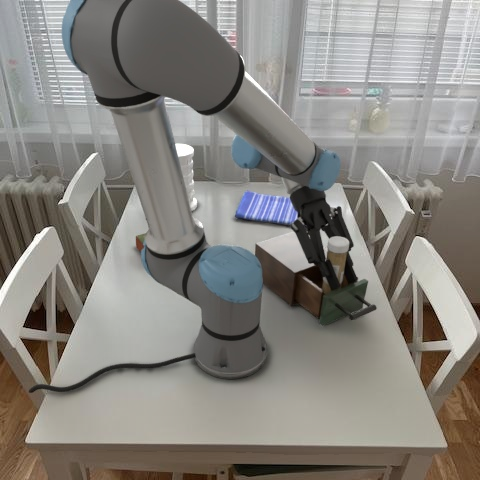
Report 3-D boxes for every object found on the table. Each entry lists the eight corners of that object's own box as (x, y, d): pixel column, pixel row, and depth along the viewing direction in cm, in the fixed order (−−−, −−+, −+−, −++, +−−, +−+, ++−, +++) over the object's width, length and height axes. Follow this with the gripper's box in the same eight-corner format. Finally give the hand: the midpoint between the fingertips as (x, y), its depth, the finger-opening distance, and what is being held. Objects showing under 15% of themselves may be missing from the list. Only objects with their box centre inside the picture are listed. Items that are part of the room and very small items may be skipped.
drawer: (380, 321, 111) (388, 294, 107) (340, 341, 106) (346, 312, 101) (321, 279, 125) (325, 252, 120) (283, 294, 119) (285, 267, 114)
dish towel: (244, 196, 164) (245, 188, 162) (315, 204, 160) (316, 196, 158) (233, 220, 151) (233, 211, 149) (310, 229, 147) (311, 220, 145)
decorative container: (186, 195, 164) (184, 141, 153) (203, 208, 156) (202, 152, 145) (155, 202, 159) (149, 147, 148) (170, 217, 151) (166, 159, 140)
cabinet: (333, 289, 123) (339, 256, 117) (291, 306, 117) (294, 272, 111) (295, 261, 133) (298, 229, 127) (253, 275, 127) (255, 243, 121)
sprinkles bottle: (344, 293, 113) (354, 242, 104) (329, 299, 111) (338, 247, 102) (331, 284, 116) (339, 233, 107) (316, 290, 114) (323, 238, 105)
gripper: (281, 190, 101) (324, 294, 101) (343, 172, 109) (383, 269, 109) (264, 204, 108) (305, 301, 108) (324, 187, 116) (362, 278, 116)
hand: (344, 285), depth 108 cm, fingers closed on sprinkles bottle, 4 cm apart
